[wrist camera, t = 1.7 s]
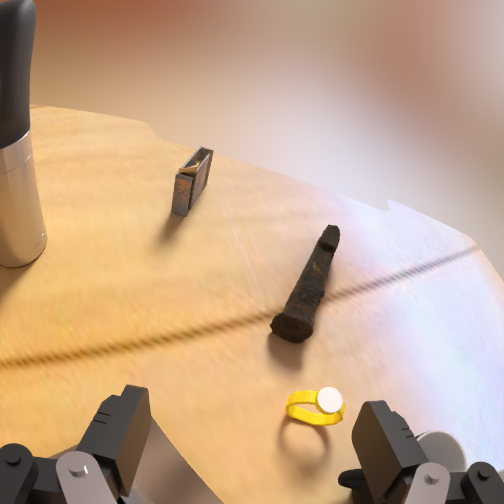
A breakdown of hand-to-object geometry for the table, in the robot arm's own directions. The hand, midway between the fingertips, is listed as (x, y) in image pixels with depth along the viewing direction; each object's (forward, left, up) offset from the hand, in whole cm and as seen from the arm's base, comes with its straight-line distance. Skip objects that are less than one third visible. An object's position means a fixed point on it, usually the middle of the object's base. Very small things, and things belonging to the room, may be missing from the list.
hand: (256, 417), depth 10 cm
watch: (+11, +5, -20) cm, 24 cm away
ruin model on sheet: (-3, +42, -21) cm, 47 cm away
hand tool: (+15, +25, -21) cm, 36 cm away
